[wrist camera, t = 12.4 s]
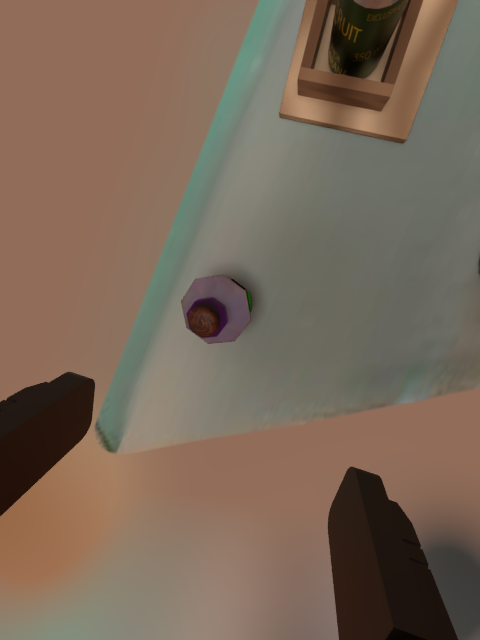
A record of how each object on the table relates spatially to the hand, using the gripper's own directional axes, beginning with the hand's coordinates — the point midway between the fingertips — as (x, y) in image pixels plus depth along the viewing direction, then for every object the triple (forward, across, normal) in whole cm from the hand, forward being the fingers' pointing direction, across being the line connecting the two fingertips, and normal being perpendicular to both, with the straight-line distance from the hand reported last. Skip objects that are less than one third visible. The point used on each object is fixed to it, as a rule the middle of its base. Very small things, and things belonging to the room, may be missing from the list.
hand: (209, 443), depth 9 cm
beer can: (+31, -1, -25) cm, 40 cm away
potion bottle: (+32, +6, +4) cm, 33 cm away
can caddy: (+32, -2, -25) cm, 41 cm away
